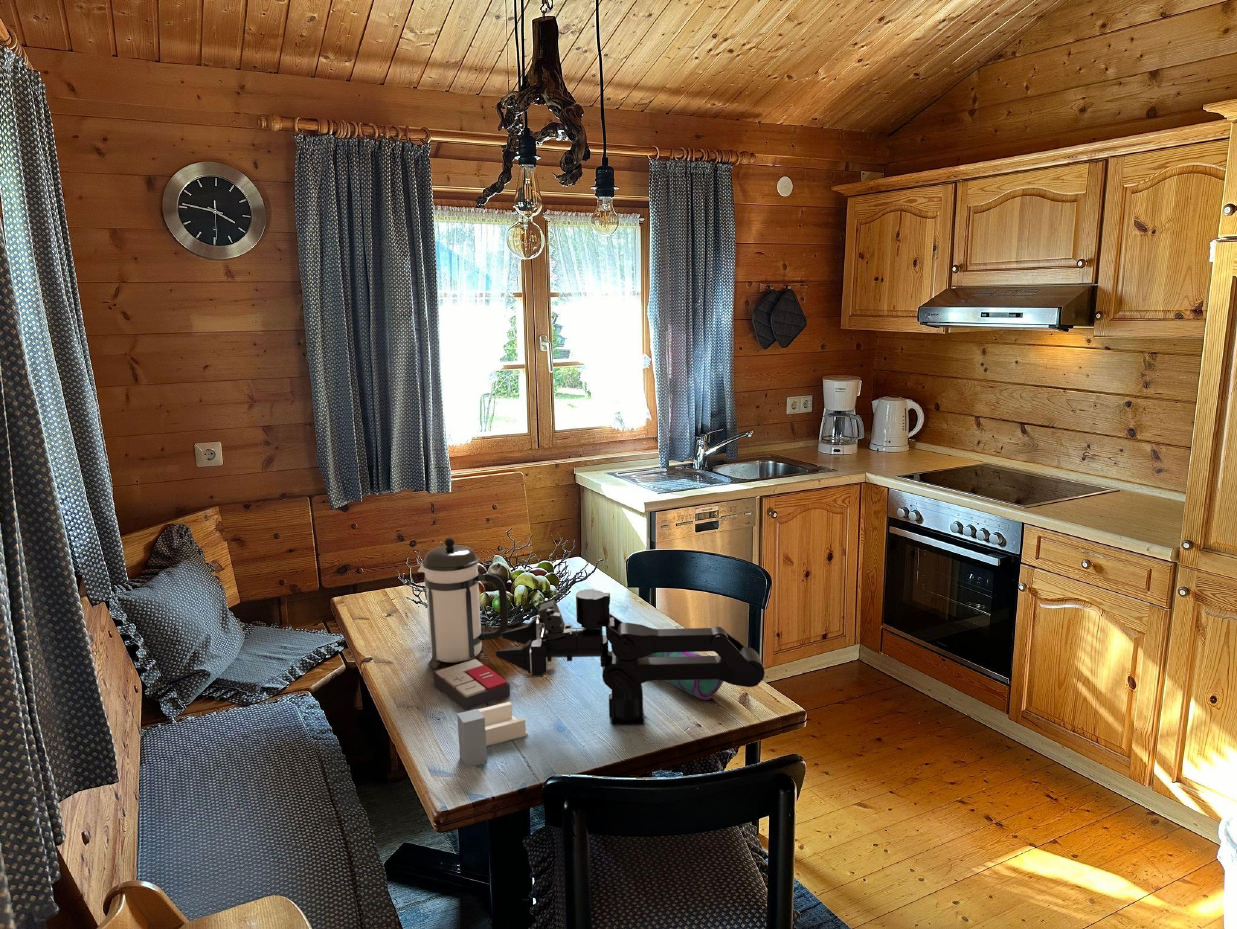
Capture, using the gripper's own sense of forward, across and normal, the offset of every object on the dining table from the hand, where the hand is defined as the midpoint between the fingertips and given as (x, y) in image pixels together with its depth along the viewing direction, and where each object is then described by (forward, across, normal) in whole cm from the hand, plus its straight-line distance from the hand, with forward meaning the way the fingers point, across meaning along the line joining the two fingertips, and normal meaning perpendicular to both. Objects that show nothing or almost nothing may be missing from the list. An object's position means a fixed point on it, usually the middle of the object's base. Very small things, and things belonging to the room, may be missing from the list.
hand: (499, 644), depth 175 cm
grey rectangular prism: (+4, +15, +17) cm, 23 cm away
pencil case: (-37, -15, +17) cm, 44 cm away
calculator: (+9, -14, +17) cm, 24 cm away
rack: (+1, +5, +16) cm, 17 cm away
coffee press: (+14, -31, +17) cm, 38 cm away
